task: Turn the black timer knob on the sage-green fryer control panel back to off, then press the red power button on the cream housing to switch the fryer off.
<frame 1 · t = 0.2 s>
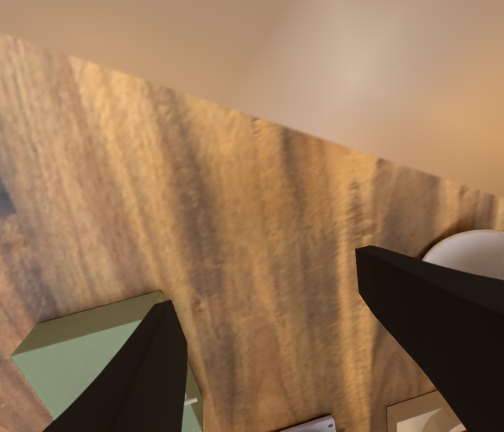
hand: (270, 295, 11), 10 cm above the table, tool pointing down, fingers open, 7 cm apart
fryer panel: (129, 365, 23), on the table
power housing: (420, 425, 32), on the table
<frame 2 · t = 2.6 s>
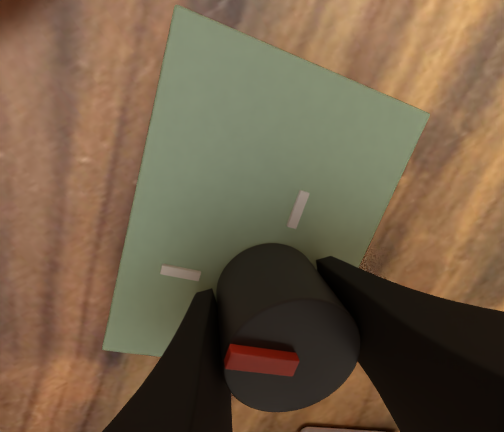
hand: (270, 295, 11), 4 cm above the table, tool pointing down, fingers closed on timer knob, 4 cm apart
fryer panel: (247, 212, 13), on the table
timer knob: (279, 321, 9), point 5 cm above the table, hinge at 89.9°, touching gripper
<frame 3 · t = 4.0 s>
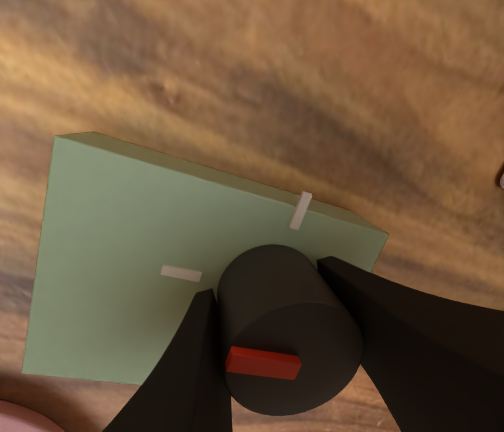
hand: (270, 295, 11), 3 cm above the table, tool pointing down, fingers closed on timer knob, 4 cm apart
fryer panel: (209, 264, 13), on the table
timer knob: (281, 323, 9), point 5 cm above the table, hinge at -0.4°, touching gripper
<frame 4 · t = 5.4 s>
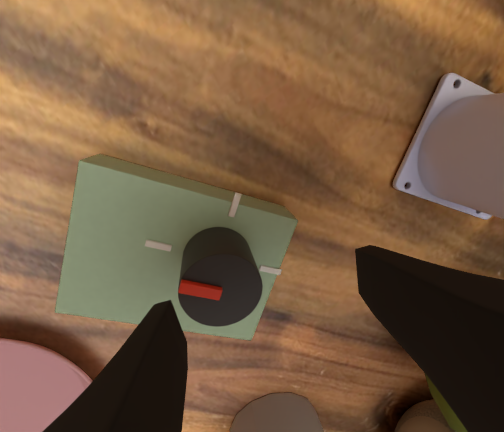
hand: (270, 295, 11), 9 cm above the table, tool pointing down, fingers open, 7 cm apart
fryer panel: (182, 244, 19), on the table
plate: (11, 395, 21), on the table
timer knob: (219, 274, 15), point 5 cm above the table, hinge at -0.5°
apple: (441, 320, 26), on the table
cup: (273, 423, 27), on the table
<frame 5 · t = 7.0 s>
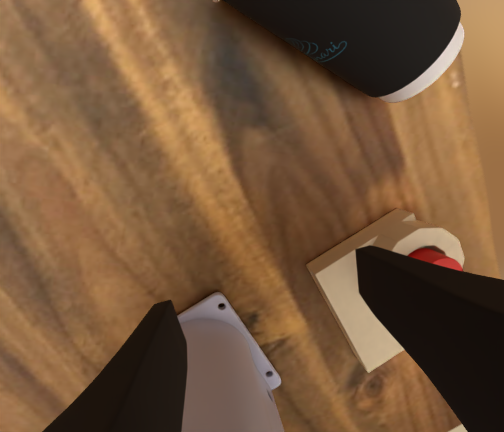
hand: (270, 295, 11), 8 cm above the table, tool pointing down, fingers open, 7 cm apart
dixie cup: (417, 66, 16), point 2 cm above the table
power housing: (375, 287, 22), on the table
power button: (429, 276, 18), point 4 cm above the table, slide at 0.1 cm
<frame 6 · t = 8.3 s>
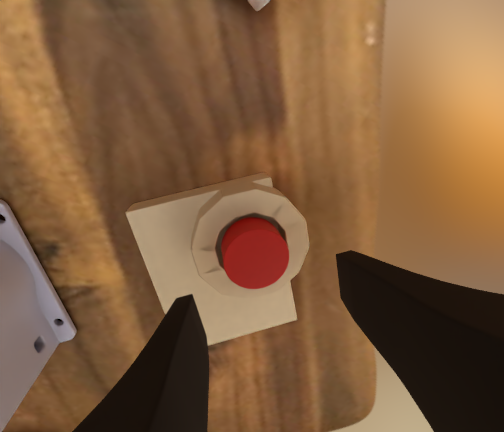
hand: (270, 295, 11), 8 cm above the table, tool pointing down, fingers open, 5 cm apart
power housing: (220, 259, 18), on the table
power button: (254, 252, 14), point 4 cm above the table, slide at 0.1 cm
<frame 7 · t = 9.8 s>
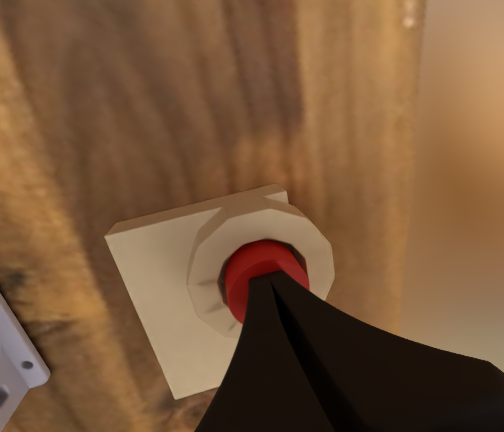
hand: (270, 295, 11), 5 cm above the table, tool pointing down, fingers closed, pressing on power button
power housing: (222, 286, 15), on the table
power button: (265, 283, 11), point 4 cm above the table, slide at -0.2 cm, touching gripper
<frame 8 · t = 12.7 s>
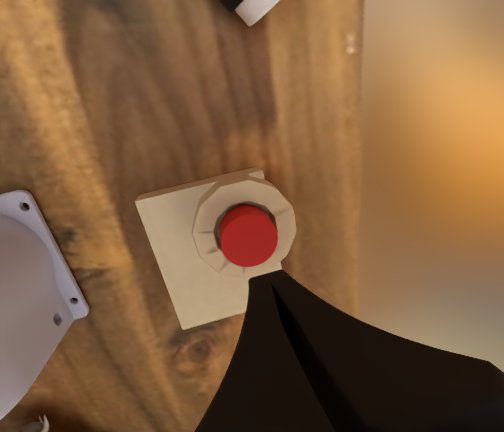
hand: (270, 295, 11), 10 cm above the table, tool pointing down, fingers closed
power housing: (218, 245, 20), on the table
power button: (247, 235, 16), point 4 cm above the table, slide at 0.1 cm
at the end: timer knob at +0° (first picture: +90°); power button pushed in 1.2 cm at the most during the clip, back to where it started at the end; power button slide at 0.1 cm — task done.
